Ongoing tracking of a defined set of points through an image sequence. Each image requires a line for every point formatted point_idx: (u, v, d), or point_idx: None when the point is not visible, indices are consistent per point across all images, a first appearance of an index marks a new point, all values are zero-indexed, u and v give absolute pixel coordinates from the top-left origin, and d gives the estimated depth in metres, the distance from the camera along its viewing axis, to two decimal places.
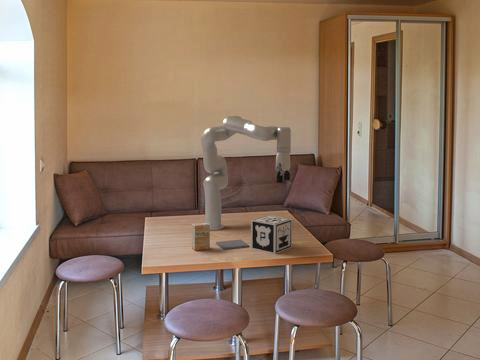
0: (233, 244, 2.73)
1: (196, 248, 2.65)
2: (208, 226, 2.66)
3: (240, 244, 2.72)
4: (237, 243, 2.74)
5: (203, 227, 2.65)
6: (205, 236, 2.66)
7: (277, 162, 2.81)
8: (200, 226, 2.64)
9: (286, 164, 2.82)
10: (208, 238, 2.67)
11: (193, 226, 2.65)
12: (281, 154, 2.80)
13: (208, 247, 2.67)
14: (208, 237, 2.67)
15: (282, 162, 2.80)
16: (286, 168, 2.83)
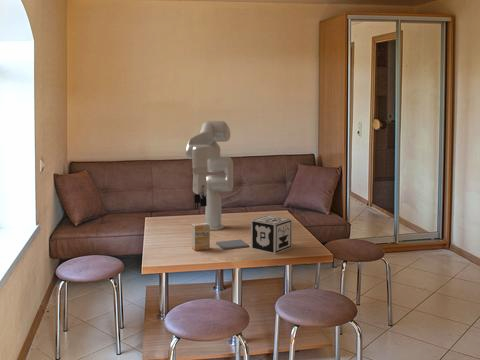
0: (233, 244, 2.73)
1: (196, 248, 2.65)
2: (208, 226, 2.66)
3: (240, 244, 2.72)
4: (237, 243, 2.74)
5: (203, 227, 2.65)
6: (205, 236, 2.66)
7: (200, 184, 2.58)
8: (200, 226, 2.64)
9: None
10: (208, 238, 2.67)
11: (193, 226, 2.65)
12: (204, 175, 2.59)
13: (208, 247, 2.67)
14: (208, 237, 2.67)
15: (205, 184, 2.59)
16: None
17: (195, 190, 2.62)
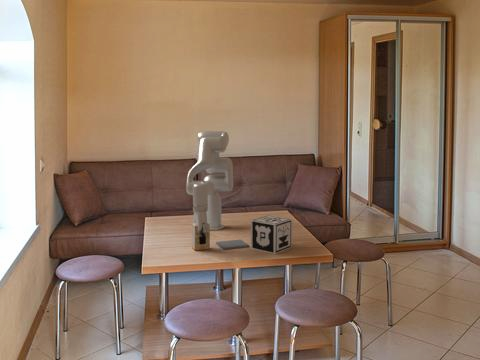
0: (233, 244, 2.73)
1: (196, 248, 2.65)
2: (208, 226, 2.66)
3: (240, 244, 2.72)
4: (237, 243, 2.74)
5: None
6: None
7: (201, 222, 2.61)
8: None
9: None
10: (208, 238, 2.67)
11: (193, 226, 2.65)
12: (204, 213, 2.62)
13: (208, 247, 2.67)
14: (208, 237, 2.67)
15: (206, 221, 2.62)
16: None
17: None
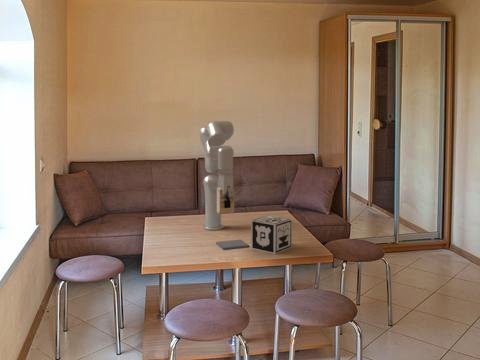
0: (233, 244, 2.73)
1: (221, 212, 2.67)
2: (233, 190, 2.68)
3: (240, 244, 2.72)
4: (237, 243, 2.74)
5: None
6: None
7: (226, 185, 2.63)
8: None
9: None
10: (233, 202, 2.69)
11: (218, 190, 2.67)
12: (229, 176, 2.64)
13: (233, 211, 2.70)
14: (233, 201, 2.69)
15: (231, 184, 2.64)
16: None
17: None
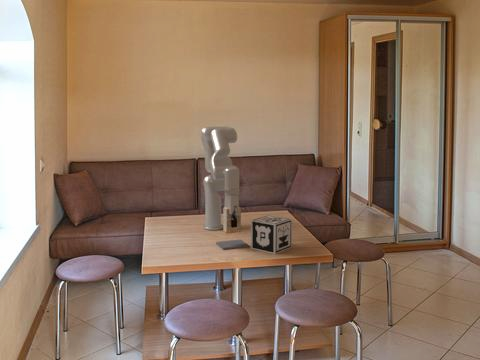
0: (233, 244, 2.73)
1: (228, 231, 2.70)
2: (239, 209, 2.71)
3: (240, 244, 2.72)
4: (237, 243, 2.74)
5: None
6: (237, 219, 2.71)
7: (233, 205, 2.66)
8: None
9: None
10: (239, 221, 2.72)
11: (225, 209, 2.70)
12: (236, 196, 2.67)
13: (239, 230, 2.72)
14: (239, 220, 2.71)
15: (238, 204, 2.67)
16: None
17: None
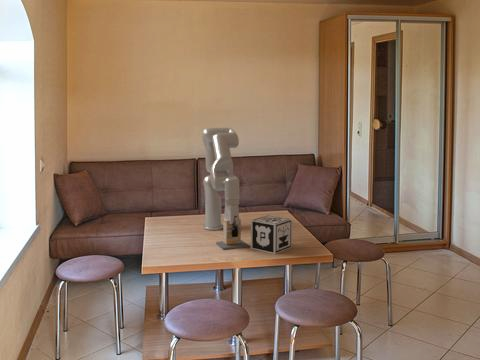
0: (233, 244, 2.73)
1: (227, 243, 2.71)
2: (239, 221, 2.72)
3: (240, 244, 2.72)
4: None
5: (234, 222, 2.71)
6: None
7: (233, 215, 2.67)
8: None
9: None
10: (239, 233, 2.73)
11: (225, 221, 2.71)
12: (236, 206, 2.67)
13: (239, 242, 2.73)
14: (239, 232, 2.72)
15: (238, 214, 2.68)
16: None
17: None
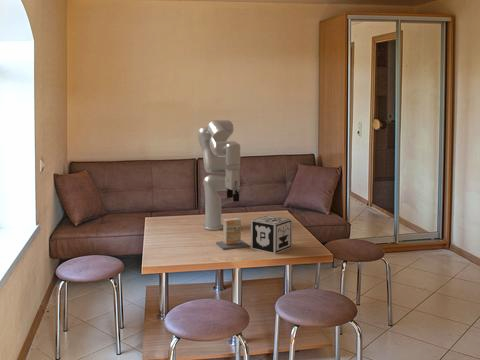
0: (233, 244, 2.73)
1: (227, 243, 2.71)
2: (239, 221, 2.72)
3: (240, 244, 2.72)
4: None
5: (234, 222, 2.71)
6: (237, 231, 2.72)
7: (233, 180, 2.67)
8: (231, 221, 2.70)
9: None
10: (239, 233, 2.73)
11: (225, 221, 2.71)
12: (237, 172, 2.68)
13: (239, 242, 2.73)
14: (239, 232, 2.73)
15: (238, 180, 2.68)
16: None
17: (228, 185, 2.71)
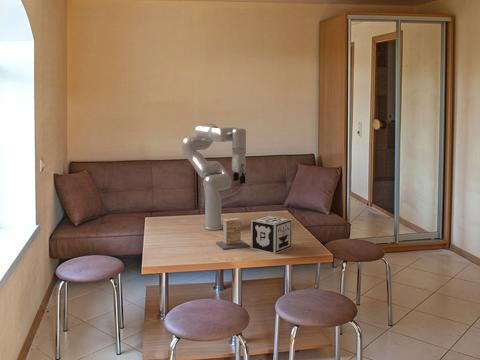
0: (233, 244, 2.73)
1: (227, 243, 2.71)
2: (239, 221, 2.72)
3: (240, 244, 2.72)
4: None
5: (234, 222, 2.71)
6: (237, 231, 2.72)
7: (240, 163, 2.84)
8: (231, 221, 2.70)
9: None
10: (239, 233, 2.73)
11: (225, 221, 2.71)
12: (243, 155, 2.84)
13: (239, 242, 2.73)
14: (239, 232, 2.73)
15: (244, 163, 2.85)
16: None
17: (235, 168, 2.87)
